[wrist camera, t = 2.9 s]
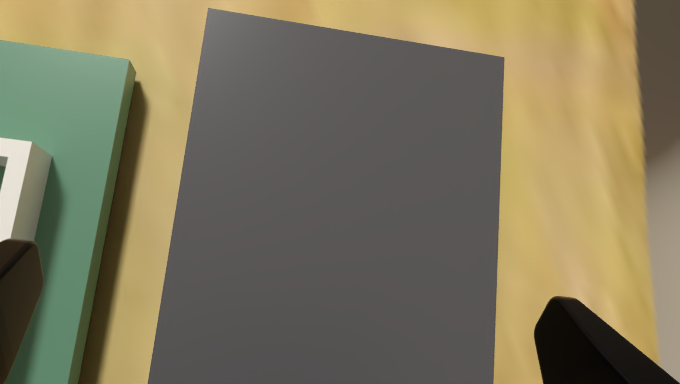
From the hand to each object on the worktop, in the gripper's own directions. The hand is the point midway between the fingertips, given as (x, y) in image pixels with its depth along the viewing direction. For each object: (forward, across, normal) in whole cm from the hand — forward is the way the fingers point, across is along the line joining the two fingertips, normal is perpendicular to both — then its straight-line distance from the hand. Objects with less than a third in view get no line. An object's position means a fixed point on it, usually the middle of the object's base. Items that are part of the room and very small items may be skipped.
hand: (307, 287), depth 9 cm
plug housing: (+6, 0, +6) cm, 8 cm away
